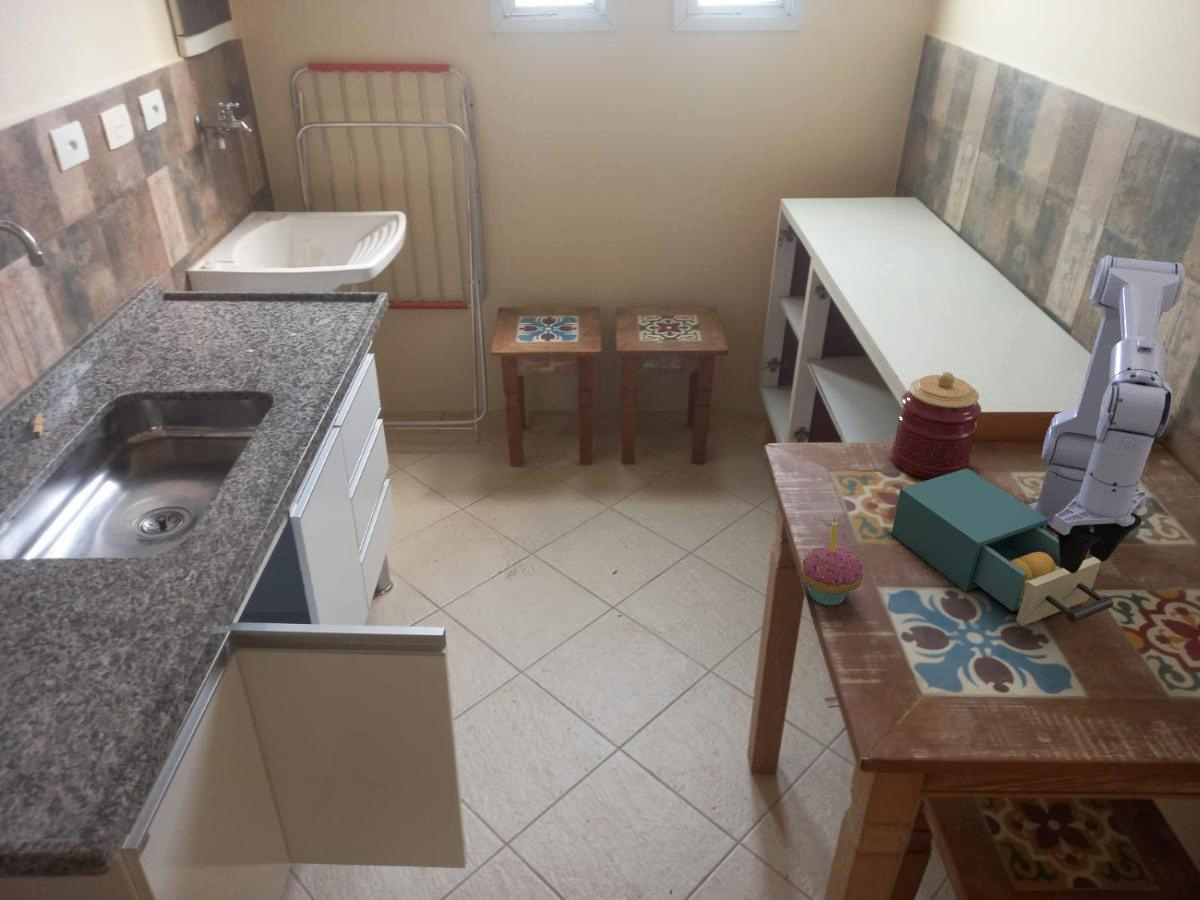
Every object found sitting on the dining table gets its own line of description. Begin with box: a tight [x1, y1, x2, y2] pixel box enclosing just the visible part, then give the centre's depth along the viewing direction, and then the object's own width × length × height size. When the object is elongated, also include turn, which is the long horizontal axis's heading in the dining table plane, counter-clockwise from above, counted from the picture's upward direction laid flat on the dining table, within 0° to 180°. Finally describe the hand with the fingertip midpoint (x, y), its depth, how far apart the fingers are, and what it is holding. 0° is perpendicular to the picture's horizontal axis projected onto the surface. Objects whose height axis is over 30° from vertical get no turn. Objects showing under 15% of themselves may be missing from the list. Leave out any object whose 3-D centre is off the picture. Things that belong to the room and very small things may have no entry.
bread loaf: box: [1010, 552, 1061, 599], centre depth 123 cm, size 8×4×4 cm, turn 115°
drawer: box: [972, 526, 1114, 627], centre depth 122 cm, size 19×12×7 cm, turn 25°
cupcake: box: [800, 517, 865, 606], centre depth 122 cm, size 9×8×12 cm
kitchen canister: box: [891, 371, 982, 480], centre depth 152 cm, size 13×13×18 cm
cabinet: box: [891, 467, 1049, 592], centre depth 132 cm, size 16×14×9 cm
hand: (1082, 563), depth 114 cm, fingers open, 5 cm apart
